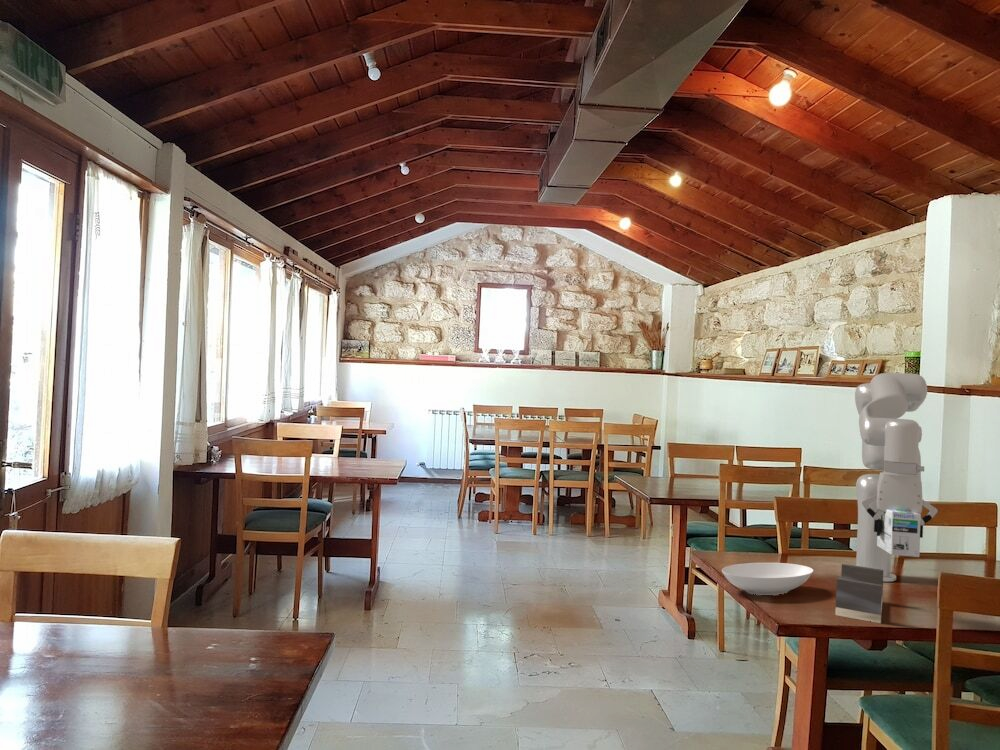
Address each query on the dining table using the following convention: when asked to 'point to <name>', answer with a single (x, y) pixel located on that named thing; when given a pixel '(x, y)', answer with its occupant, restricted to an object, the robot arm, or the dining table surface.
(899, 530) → the light bulb box
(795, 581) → the bowl
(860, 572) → the grey phone stand
